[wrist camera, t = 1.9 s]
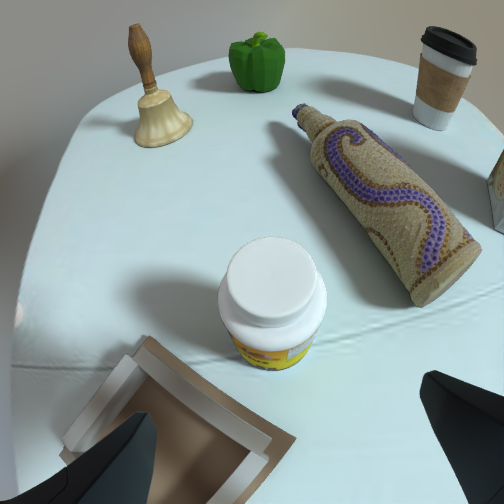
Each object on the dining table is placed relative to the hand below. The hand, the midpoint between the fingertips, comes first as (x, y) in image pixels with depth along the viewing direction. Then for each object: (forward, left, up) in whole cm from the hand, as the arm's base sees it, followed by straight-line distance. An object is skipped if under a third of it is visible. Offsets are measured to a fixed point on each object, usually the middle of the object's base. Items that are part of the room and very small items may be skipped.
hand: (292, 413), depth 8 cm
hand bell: (+20, +31, -12) cm, 38 cm away
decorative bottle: (+21, +3, -12) cm, 25 cm away
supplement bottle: (+5, +4, -12) cm, 14 cm away
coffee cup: (+44, 0, -12) cm, 45 cm away
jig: (-7, +5, -12) cm, 15 cm away
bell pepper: (+36, +26, -12) cm, 46 cm away
